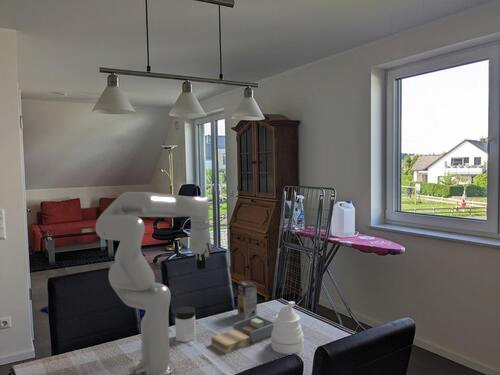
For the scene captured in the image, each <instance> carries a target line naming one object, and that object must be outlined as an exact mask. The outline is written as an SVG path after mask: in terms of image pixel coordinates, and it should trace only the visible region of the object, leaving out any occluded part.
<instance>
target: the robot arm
mask: <svg viewBox="0 0 500 375" xmlns="http://www.w3.org/2000/svg"><path fill="white" fill-rule="evenodd" d="M209 214H210V203H209V198H208V197H207V196H206V195H205V196H204V195H194V196H189V195H188V196H187V195H179V194H174V193H173V194H172V193H160V192H149V191H126V192H123V193H121V194H119V196H118V197H117V198H115V199H114V201H112V202H111V203H110V205H108V207H107V208H106V209H104V211H103V212H102V213H101V214H100V215H99V216H98V218H97V220H96V223H95V232H96V234H97V236H98V237H99V238H101V239H104V240H107V241H108V240H109V241H118V242H119V243H118V247H117V250H116V252H115V254H114V263H113V264H112V265H111V266H110V268H109V270H108V281H109V284H110V286H111V288H112V289H113V290H114V292H115V293H116V294H117V296H118V297H119V299H120V300H121V301H122V302H123V303H124V305H126V306H128V307H131V308H134V309H135V308H136V309H140V310H144V311H145V313H144V315H143V317H142V319H141V322H140V333H141V335H140V336H141V337H140V338H141V359H139V363H137V365H133V366H132V367H129V368H128V372H129V374H134V373H135V374H136V375H171V374H172V373H174V371H175V363H174V362H173V361H171V359H170V358H171V356H170V354H171V352H170V351H171V350H170V327H169V326H170V325H169V324H170V323H169V310H170V304H171V297H172V296H171V291H170V288H169V287H168V286H167V285H165V284H163V283H159V282H155V281H156V276H155V274H154V271H153V269H152V268H151V266H150V264H149V262H148V261H147V260H146V257H144V255H143V253H142V249H141V248H142V242H143V238H144V235H145V230H146V228H145V223H144V221H143V219H142V218H144V217H145V218H179V217H180V218H182V217H190V231H189V239H188V240H189V242H188V243H189V245H188V246H189V251H190V252H191V253H192V254H194V255H195V260H196V269H197V270H199V271H200V270H205V269H206V259H207V257H208V258H210V253H211V250H212V243H211V242H212V241H211V232H210V215H209Z"/></svg>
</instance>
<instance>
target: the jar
mask: <svg viewBox="0 0 500 375" xmlns="http://www.w3.org/2000/svg"><path fill="white" fill-rule="evenodd" d="M174 312H175V313H174V314H175V319H174V322H175V341H176V342H177V341H178V342H183V343H186V342H191V341H194V340H195V339H196V334H197V332H196V330H197V329H196V309H195V307H192V306H181V307H178V308H176V309H175V311H174Z"/></svg>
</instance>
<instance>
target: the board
mask: <svg viewBox="0 0 500 375" xmlns="http://www.w3.org/2000/svg"><path fill="white" fill-rule="evenodd" d="M210 341H211V346H212V347H214V348H216V349H217V350H220V351H222V352H223V353H224V354H230V353H232V352H234V351H236V350H239V349H241V348H244V347H246V346H249V345H251V344H250V336H248V335H246V334H243V333H241V332H239V331H237V330H235V329H234V330H233V329H231V330H229V331H225V332H223V333H221V334H218V335H215V336H212V337H211V339H210Z"/></svg>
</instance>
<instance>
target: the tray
mask: <svg viewBox="0 0 500 375" xmlns="http://www.w3.org/2000/svg"><path fill="white" fill-rule="evenodd" d="M255 318H257V319H259V320H262V321H264V327H262V328H259V329H257V330H254V331H252V332H250V344H249V345H255V344H257V343H259V342H261V341H265V340H267V339H269V338H271V333H272V331H273V327H274V324H275V321H273V320H270V319H268V318H266V317H263V316H261V315H259V314H257V315H256V316H254V317H251V318H248V319H245V320H244V319H242V320H240V321H237V322H235V323H232V330H234V329H235V330H237V331H239V332H241V333H242V328H243V327H245V326H248V325H251V320H252V319H255Z"/></svg>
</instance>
